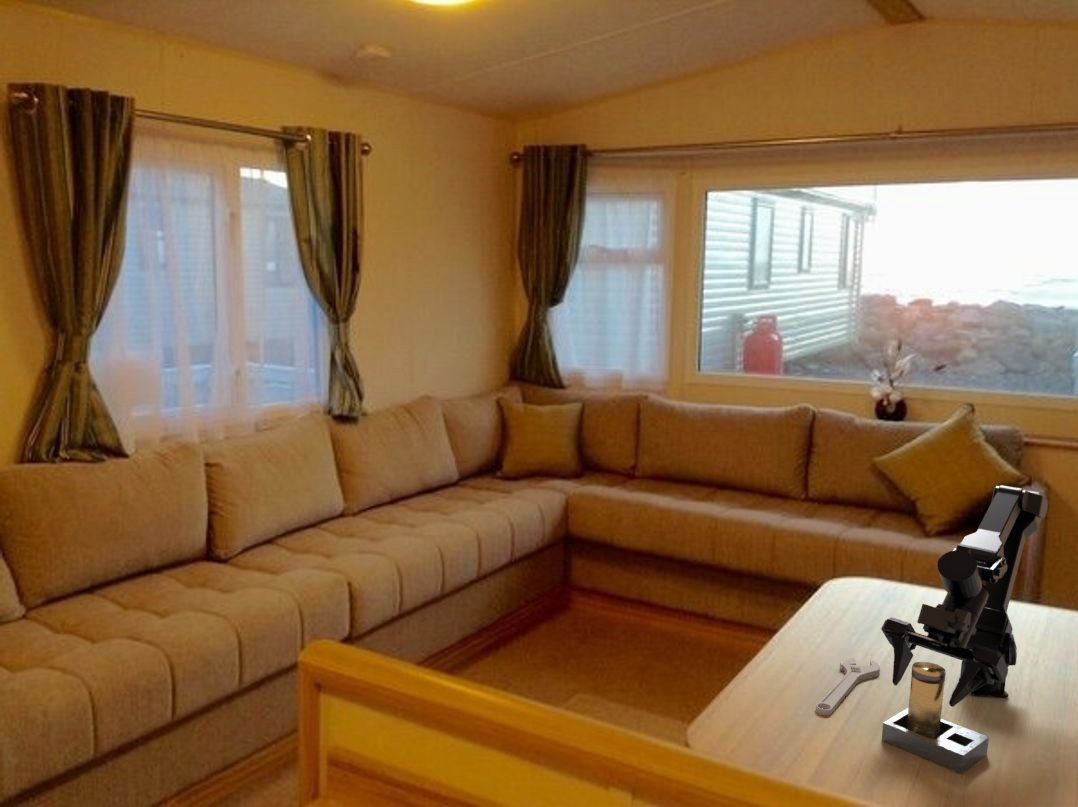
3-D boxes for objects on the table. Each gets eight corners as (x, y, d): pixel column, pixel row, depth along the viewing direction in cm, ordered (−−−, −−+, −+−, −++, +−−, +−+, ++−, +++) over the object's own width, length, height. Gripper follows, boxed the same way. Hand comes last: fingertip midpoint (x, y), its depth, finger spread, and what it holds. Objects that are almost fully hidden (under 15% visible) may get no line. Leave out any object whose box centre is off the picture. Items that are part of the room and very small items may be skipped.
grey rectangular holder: (986, 755, 144) (988, 737, 143) (961, 774, 138) (963, 755, 138) (908, 723, 153) (910, 706, 153) (881, 740, 148) (883, 722, 147)
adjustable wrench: (828, 720, 155) (829, 710, 155) (793, 708, 159) (793, 698, 159) (883, 672, 174) (884, 663, 174) (850, 662, 178) (851, 654, 178)
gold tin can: (926, 733, 150) (933, 660, 148) (945, 749, 145) (952, 674, 144) (899, 735, 149) (905, 662, 147) (917, 751, 144) (924, 675, 143)
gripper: (891, 570, 153) (851, 650, 147) (1008, 602, 139) (968, 692, 134) (910, 604, 159) (872, 682, 154) (1023, 639, 146) (986, 726, 140)
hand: (921, 694), depth 145 cm, fingers open, 9 cm apart
